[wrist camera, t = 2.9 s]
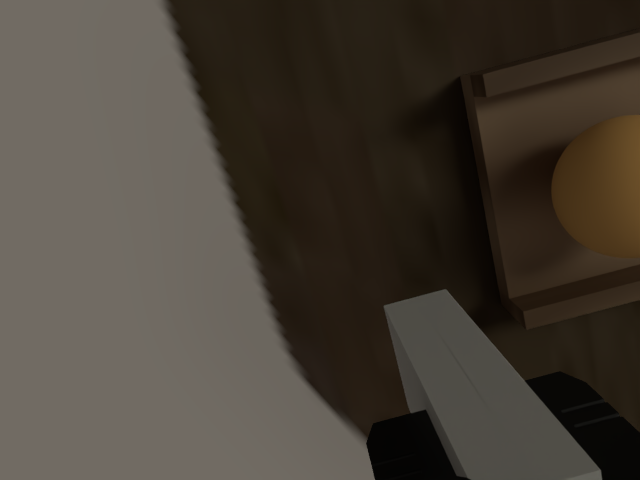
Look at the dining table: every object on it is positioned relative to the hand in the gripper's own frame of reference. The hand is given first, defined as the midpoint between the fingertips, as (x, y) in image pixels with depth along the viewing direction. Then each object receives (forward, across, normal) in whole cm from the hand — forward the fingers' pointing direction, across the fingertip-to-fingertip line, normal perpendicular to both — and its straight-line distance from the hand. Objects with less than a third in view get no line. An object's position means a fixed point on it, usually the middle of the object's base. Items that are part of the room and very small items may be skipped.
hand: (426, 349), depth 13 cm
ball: (+7, +9, 0) cm, 11 cm away
